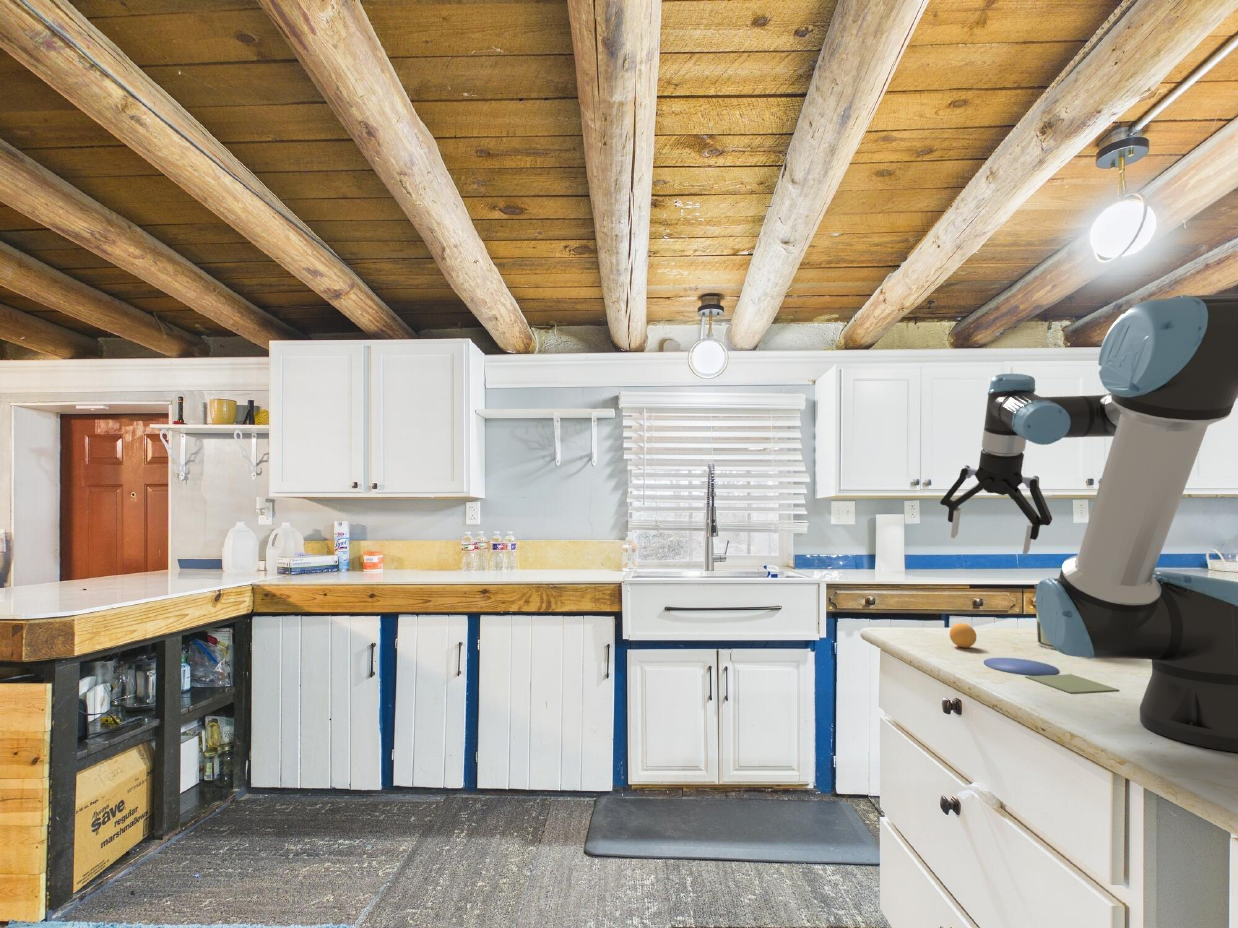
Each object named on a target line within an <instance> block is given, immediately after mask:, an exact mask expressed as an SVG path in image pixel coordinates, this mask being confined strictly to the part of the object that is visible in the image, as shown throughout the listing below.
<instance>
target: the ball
mask: <svg viewBox="0 0 1238 928" xmlns="http://www.w3.org/2000/svg"><path fill="white" fill-rule="evenodd" d="M949 638H950V640H951V642H952V643H953V644H954V645H956V646H957V647H959V648H964V649H965V648H970V647H972V646H974V644H975V643H976V641H977V633H976V631H975V629H974V628H973V627H972V626H971V625H969V624H966V623H962V622H961V623H957V624H954V625H953V626H952V627H950V630H949Z"/></svg>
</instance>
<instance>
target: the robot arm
mask: <svg viewBox="0 0 1238 928" xmlns="http://www.w3.org/2000/svg"><path fill="white" fill-rule="evenodd" d="M1097 364H1098V365H1099V366H1100V369H1099V371H1098V375H1099V379H1100V382H1101V384H1102V386H1103V387H1104V388H1105V389H1106V390H1107V391H1108V392H1109V393H1107V394H1106V393H1105V394H1101V395H1099V394H1098V395H1069V396H1040V395H1038V394H1036V393H1035V392H1036V380H1035V378H1034V377H1033V376H1031V375H1028V374H1022V373H1000V374H997V375H994V376H993V377H992V378H991V379H990V384H989V387H988V388H989V389H988V392H987V403H986V409H985V411H986V412H985V418H984V427H983V431H982V432H983V433H982V441H981V448H982V449H981V451H980V455H979V457H980V458H979V461H978V462H979V464H978V468H977V469H975V468H971V466H969V465H967V464H966V465H964V466H963V467H962V469H961V470H960V473H959V477H958V479H956V481H955V482H954V484H953V485H951V487H950V489H949V490H948V491H947V492H946V494H945V495H944V496H943V497H942V499H941V500H940V502H939V503H940V505H941V506H945V507H947V508H948V515H947V520H948V521H947V522H948V523H951V524H952V525H951V533H950V538H951V539H955V538H956V537H957V536H958V534H959V526H960V518H961V511H962V506H961V505H962V504H963V503H965V502H966V501H968V500H969V499H971V498H972V497H974V496H975V495H976V494H978V493H980V492H981V491H983V490H984V491H985V492H987V493H988V494H989V493H990V494H998V495H999V496H1004V495H1005V496H1006V495H1008V497H1009V498H1010V499H1011V500H1013V501H1014V502H1015V504H1016V505H1017V506H1018V508H1019V510H1021V512H1022V513H1023V514H1024V516H1025V517H1026V519H1027V520H1028V521H1029V522H1028V523H1027V525H1026V530H1025V537H1024V544H1023V549H1022V554H1023V555H1028V553H1029V551H1030V550H1031V541H1032V540H1034V541H1036V540H1037V539H1038V537H1039V533H1040V528H1041V526H1050V525H1051V523H1052V521H1053V516H1052V514H1051V512H1050V510H1049V507H1048V505H1047V502H1046V500H1045V498H1044V495H1043V493H1042V490H1041V488H1040V477H1039V476H1037V475H1033V476H1032V477H1029V476H1023V474H1022V471H1023V464H1024V463H1023V462H1024V457H1025V454H1024V453H1023V452H1024V451H1025V450H1026V444H1027V441H1029V442H1031V443H1033V444H1036V445H1041V446H1042V445H1043V446H1048V445H1051V444H1053V443H1056V442H1058V441H1060V440H1062V439H1064V438H1065V439H1066V438H1069V439H1070V438H1071V439H1072V438H1085V437H1087V438H1093V437H1094V438H1095V437H1099V438H1100V437H1101V438H1103V437H1107V438H1108V437H1111V438H1112V437H1113V439H1112V441H1111V444H1110V448H1109V452H1108V455H1107V458H1106V461H1105V465H1104V468H1103V471H1102V475H1101V479H1100V480H1099V485H1098V489H1097V492H1096V495H1095V498H1094V502H1093V505H1092V509H1091V512H1090V516H1089V517H1088V522H1087V525H1086V529H1085V532H1084V535H1083V539H1082V542H1081V546H1080V549H1079V552H1078V555H1073V556H1071V557H1068V558H1067V559H1065V560H1064V562H1063V563H1062V566H1061V569H1060V573H1059V576H1058V577H1056V578H1054V577H1048V578H1044V579H1042V580H1040V581H1039V582H1038V585H1037V589H1036V595H1035V609H1037V614H1038V617H1039V621H1040V624H1041V627H1042V629H1043V631H1044V634H1045V635H1046V637H1047V639H1048V641H1049V642H1050V643H1051V645H1052V646H1053V647H1054V648H1055V649H1056V650H1055V651H1058V652H1059V653H1061V654H1062V655H1065V656H1069V657H1077V658H1086V659H1089V660H1090V659H1091V660H1092V659H1121V660H1123V659H1126V660H1127V659H1129V660H1133V659H1134V660H1151V676H1150V679H1149V681H1148V684H1147V687H1146V689H1145V692H1144V695H1143V698H1142V700H1141V703H1140V706H1139V721H1140V724H1141V725H1142V726H1143V727H1145V728H1146V729H1148V730H1150V731H1151V732H1153V733H1156V734H1158V735H1161V736H1164V737H1165V738H1169V739H1173V740H1176V741H1178V742H1183V743H1186V744H1190V745H1193V746H1198V747H1199V746H1200V747H1203V748H1208V749H1214V750H1219V751H1226V752H1233V753H1238V581H1236V580H1235V581H1234V580H1230V579H1222V578H1215V577H1208V576H1201V575H1194V574H1193V575H1192V574H1187V573H1179V572H1171V571H1163V570H1155V569H1156V567H1157V564H1158V561H1159V558H1160V556H1161V553H1162V551H1163V548H1164V545H1165V542H1166V540H1167V537H1168V534H1169V533H1170V532H1169V531H1170V530H1171V529H1170V528H1171V527H1172V524H1173V520H1174V519H1175V515H1176V513H1177V510H1178V508H1179V504H1180V502H1181V499H1182V497H1183V494H1184V491H1185V489H1186V486H1187V483H1188V480H1189V478H1190V475H1191V472H1192V470H1193V467H1194V464H1195V462H1196V459H1197V455H1199V454H1198V453H1199V451H1200V448H1201V446H1202V443H1203V441H1204V437H1205V434H1206V432H1207V430H1208V427H1209V426H1210V425H1212V424H1215V423H1218V422H1221V421H1223V420H1225V419H1227V418H1228V417H1230V415H1231V413H1232V410H1233V407H1234V405H1235V402H1236V401H1237V400H1236V399H1238V293H1225V294H1223V293H1222V294H1221V293H1220V294H1203V295H1202V294H1201V295H1200V294H1197V295H1186V294H1182V295H1175V296H1171V297H1167V298H1165V297H1164V298H1157V299H1155V298H1154V299H1149V300H1145V301H1142V302H1139V303H1136V304H1134V305H1133V306H1131V307H1130V308H1129V309H1128V310H1126V311H1125V312H1123V313H1122V314H1120V316H1119V317H1118V318H1117V319H1116V320H1115V321H1114V322H1113V324H1112V325H1111V326H1110V327H1109V329H1108V331H1107V333H1106V335H1105V337H1104V339H1103V341H1102V344H1101V347H1100V350H1099V356H1098V363H1097ZM972 476H974V477H975V478H976V480H977V482H978V483H976V484H975V485H974V486H972V487H970V488H969V489H968V490H966V491H965V492H964V493H963V494H961V495H960V496H958V497H957V498H955V499H954V500H952V499H951V498H952V497H953V496H954V495H955V494H956V492H957V491H958V490H959V489H960V487H961V486H962V485H963V484H964V482H965V481H966V480H967V479H970V478H971V477H972ZM1022 484H1024V485H1025V487H1026V488H1027V489H1029V492H1030V496H1031V498H1032V500H1033V503H1034V505H1035V507H1036V510H1037V512H1036V510H1035V509H1034V508H1033V506H1032V505H1031V503H1030V502H1029V501H1028V500H1027V498H1026V497H1025V496H1024V495H1023V493H1022V491H1021V489H1020V488H1019V486H1020V485H1022ZM1037 614H1036V615H1037Z"/></svg>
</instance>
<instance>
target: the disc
mask: <svg viewBox="0 0 1238 928" xmlns="http://www.w3.org/2000/svg"><path fill="white" fill-rule="evenodd" d="M983 664H984V666H986V667H988V668H990V667H991V669H993V668H994V670H997V671H999V672H1004V671H1005V672H1006V673H1010V674H1016V675H1024V676H1044V675H1059V674H1060V670H1059V668H1057V667H1056V666H1054V665H1051V664H1048V663H1045V662H1039V661H1037V660H1032V659H1031V660H1030V659H1023V658H1016V657H1014V658H1013V657H991V658H986V659H984V660H983Z"/></svg>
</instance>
